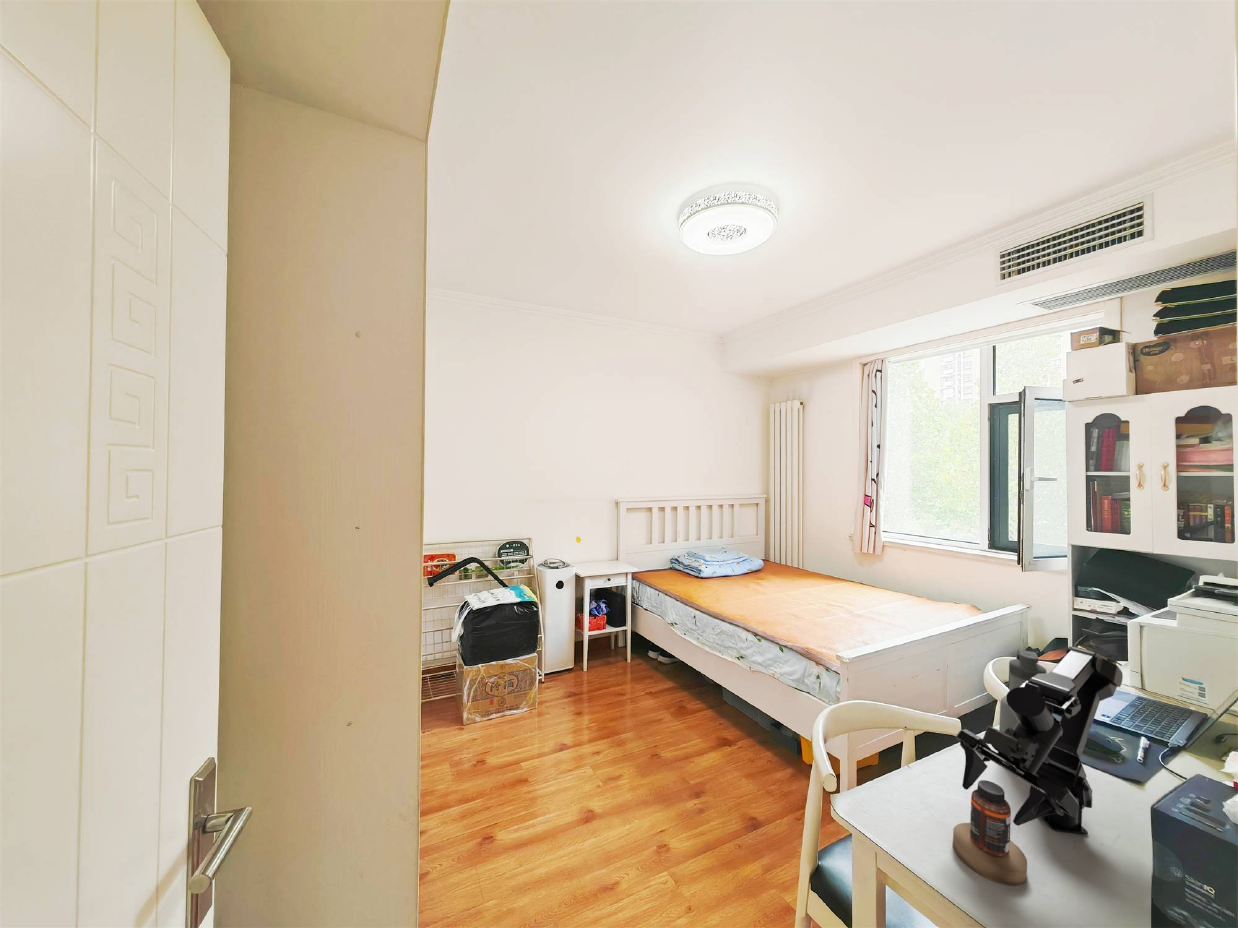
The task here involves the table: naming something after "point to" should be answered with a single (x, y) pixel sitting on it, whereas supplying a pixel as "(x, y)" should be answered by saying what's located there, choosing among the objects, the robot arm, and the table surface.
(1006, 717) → the water bottle
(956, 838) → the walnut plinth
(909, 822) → the table surface
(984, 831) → the supplement bottle
